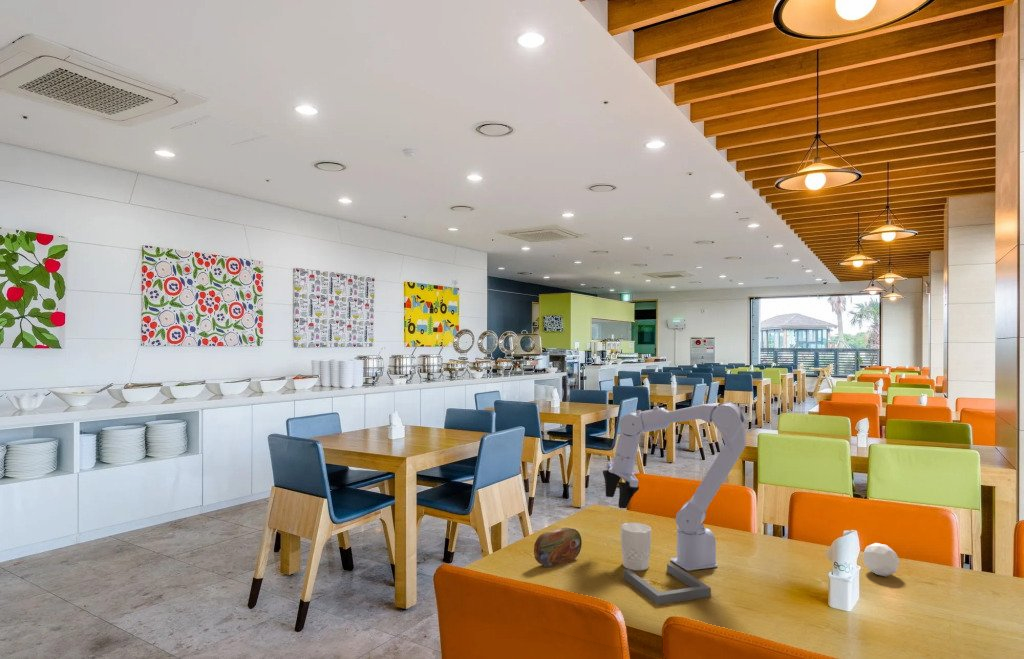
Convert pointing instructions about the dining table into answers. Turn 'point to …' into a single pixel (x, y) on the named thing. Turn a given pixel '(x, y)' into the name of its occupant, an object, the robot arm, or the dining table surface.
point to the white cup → (635, 545)
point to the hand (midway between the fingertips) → (615, 502)
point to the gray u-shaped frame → (693, 592)
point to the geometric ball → (880, 559)
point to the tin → (557, 547)
